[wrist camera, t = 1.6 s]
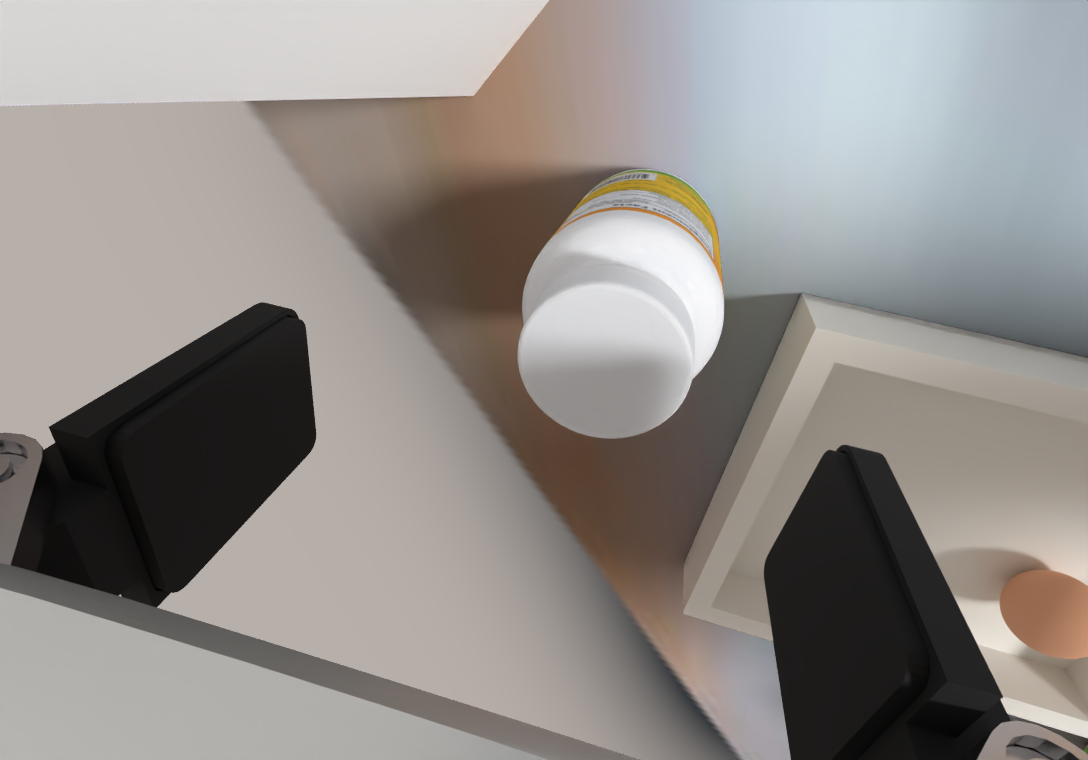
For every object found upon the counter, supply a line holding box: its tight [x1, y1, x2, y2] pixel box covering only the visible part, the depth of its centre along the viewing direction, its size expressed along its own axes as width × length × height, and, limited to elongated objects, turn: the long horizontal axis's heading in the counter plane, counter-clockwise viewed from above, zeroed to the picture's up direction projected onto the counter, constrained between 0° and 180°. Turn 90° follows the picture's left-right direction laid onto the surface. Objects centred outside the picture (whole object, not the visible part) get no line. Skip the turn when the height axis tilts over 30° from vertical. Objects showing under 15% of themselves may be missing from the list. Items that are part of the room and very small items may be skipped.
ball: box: [999, 570, 1088, 659], centre depth 21 cm, size 3×3×3 cm
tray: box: [682, 293, 1088, 738], centre depth 21 cm, size 18×15×3 cm
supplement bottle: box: [518, 169, 724, 439], centre depth 16 cm, size 5×5×10 cm
